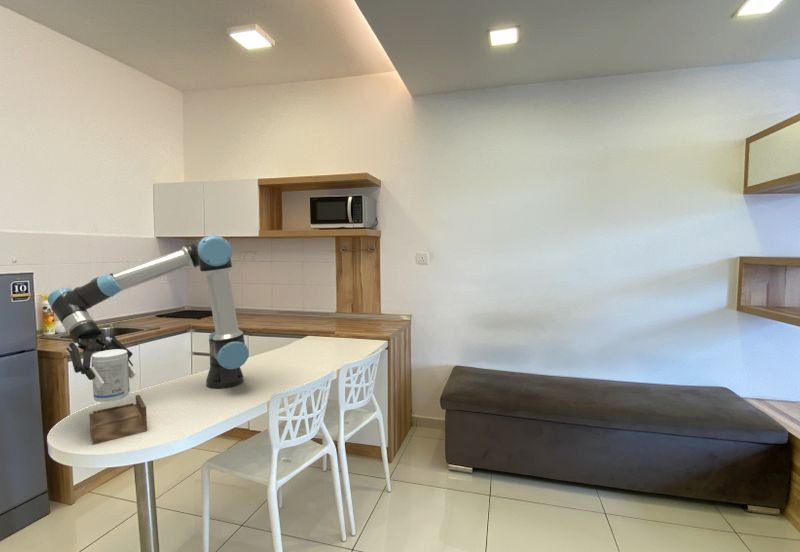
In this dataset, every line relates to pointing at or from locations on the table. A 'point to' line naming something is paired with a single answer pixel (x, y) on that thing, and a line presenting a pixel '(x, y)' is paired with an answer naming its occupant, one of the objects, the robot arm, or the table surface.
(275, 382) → the table surface
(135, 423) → the shelf
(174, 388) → the table surface
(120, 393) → the supplement tub
